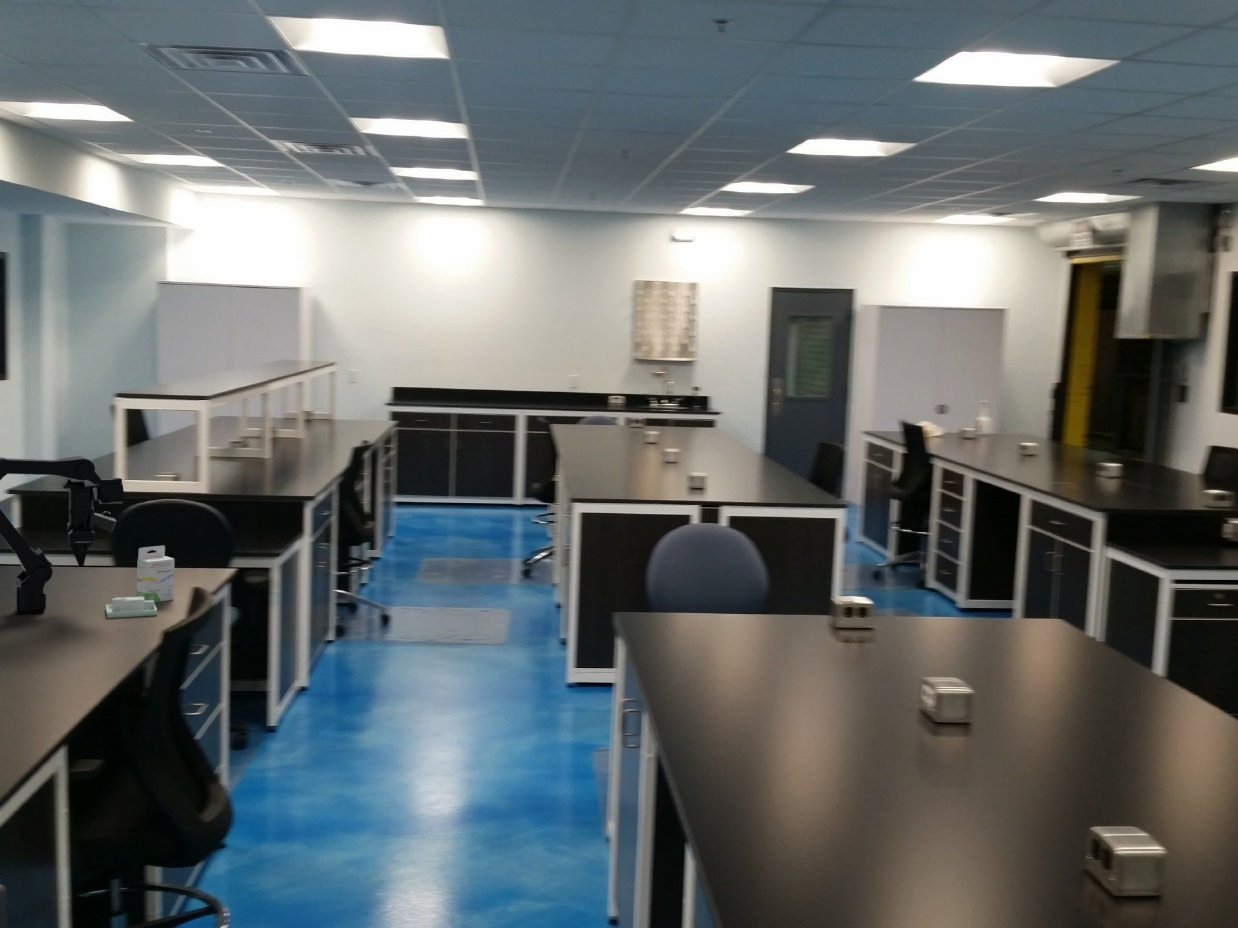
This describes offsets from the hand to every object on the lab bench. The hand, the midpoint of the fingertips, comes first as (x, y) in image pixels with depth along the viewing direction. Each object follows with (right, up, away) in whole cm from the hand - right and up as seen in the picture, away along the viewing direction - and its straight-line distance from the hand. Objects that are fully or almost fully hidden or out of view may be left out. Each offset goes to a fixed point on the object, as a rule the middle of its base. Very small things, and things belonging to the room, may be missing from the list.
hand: (80, 562), depth 313 cm
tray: (+14, -13, -1) cm, 19 cm away
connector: (+14, -12, -2) cm, 19 cm away
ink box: (+15, -12, +13) cm, 23 cm away
